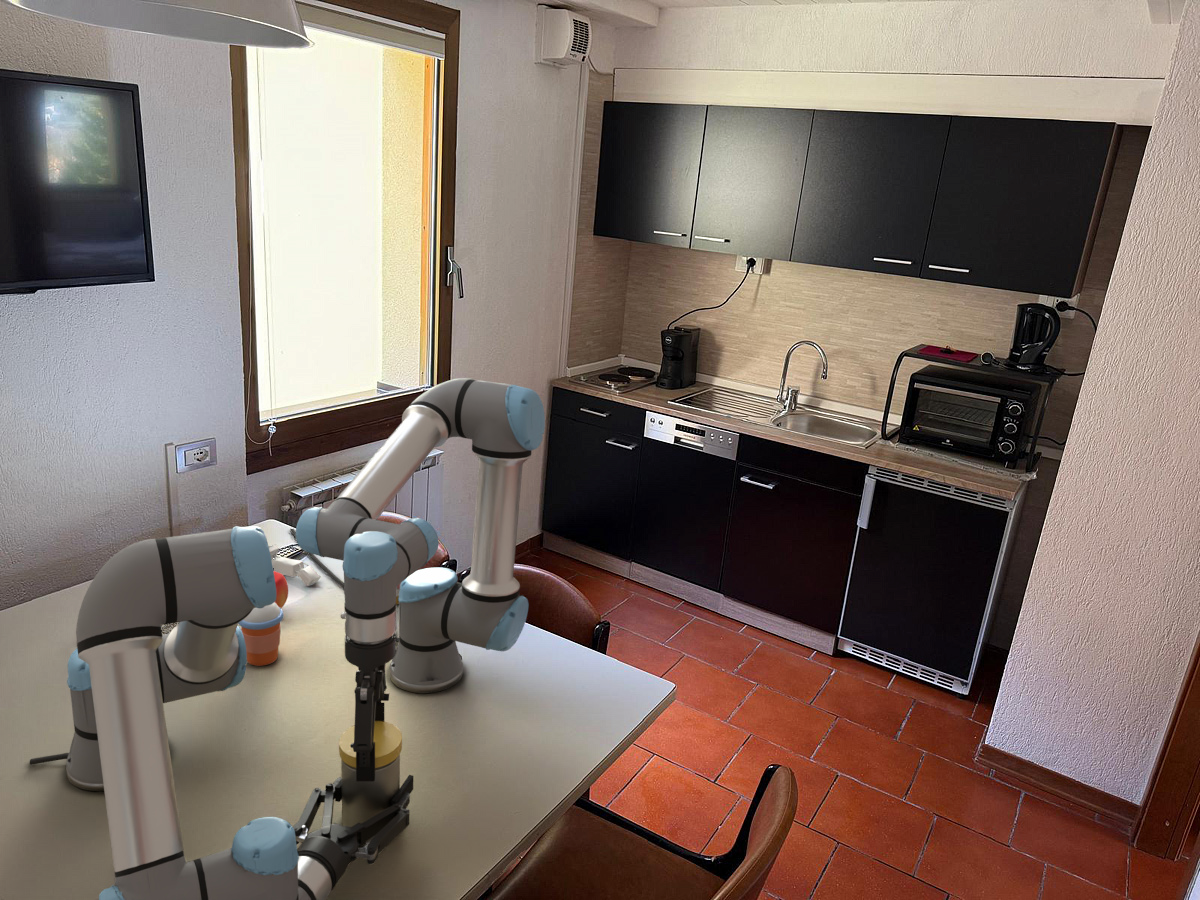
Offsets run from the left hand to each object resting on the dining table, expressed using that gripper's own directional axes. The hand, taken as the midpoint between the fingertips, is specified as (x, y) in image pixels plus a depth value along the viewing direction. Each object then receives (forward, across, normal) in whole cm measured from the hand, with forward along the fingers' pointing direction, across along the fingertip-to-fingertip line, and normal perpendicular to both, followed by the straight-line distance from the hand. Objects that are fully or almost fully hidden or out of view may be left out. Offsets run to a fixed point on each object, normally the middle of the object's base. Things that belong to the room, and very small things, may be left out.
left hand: (383, 775), depth 142 cm
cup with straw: (+33, -45, -6) cm, 56 cm away
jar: (-5, 0, -6) cm, 8 cm away
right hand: (-5, 0, +7) cm, 8 cm away
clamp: (+69, -62, -6) cm, 93 cm away
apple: (+50, -55, -6) cm, 74 cm away
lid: (-5, 0, +10) cm, 11 cm away
